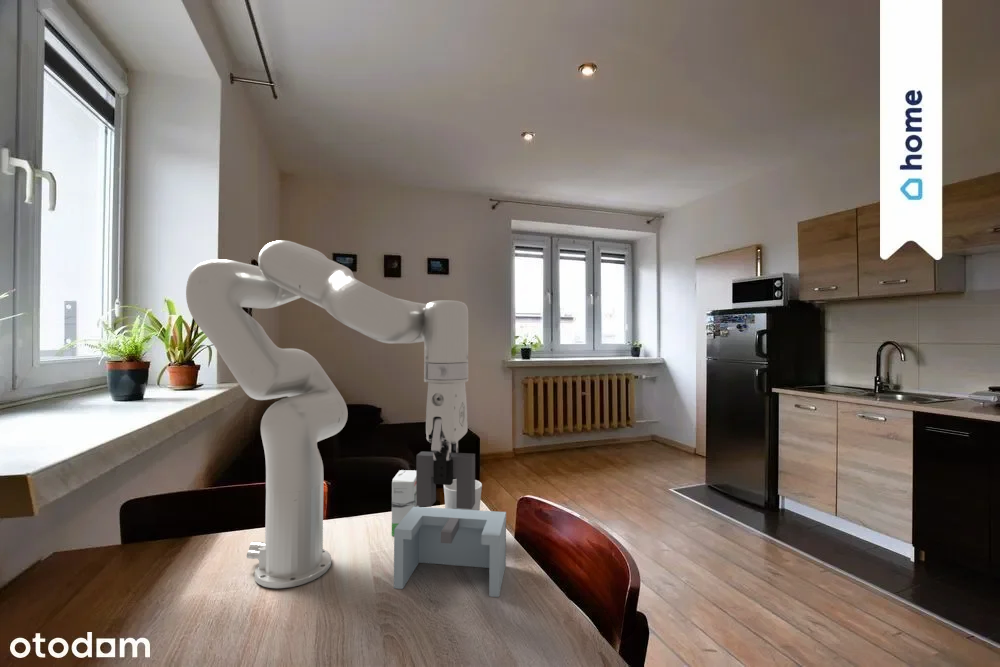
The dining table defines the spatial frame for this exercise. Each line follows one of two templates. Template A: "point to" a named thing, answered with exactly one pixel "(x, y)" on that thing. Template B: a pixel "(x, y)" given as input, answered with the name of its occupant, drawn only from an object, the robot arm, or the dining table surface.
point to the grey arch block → (461, 471)
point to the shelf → (461, 550)
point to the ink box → (403, 495)
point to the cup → (451, 495)
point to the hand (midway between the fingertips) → (446, 479)
